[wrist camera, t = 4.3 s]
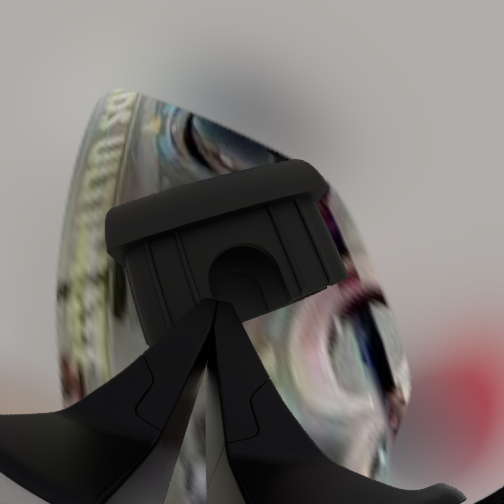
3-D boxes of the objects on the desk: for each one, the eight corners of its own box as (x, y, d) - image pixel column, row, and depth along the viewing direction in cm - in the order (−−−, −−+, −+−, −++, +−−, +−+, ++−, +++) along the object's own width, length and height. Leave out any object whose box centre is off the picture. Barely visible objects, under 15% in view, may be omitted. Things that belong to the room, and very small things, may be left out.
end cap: (274, 198, 19) (302, 134, 13) (315, 294, 18) (369, 267, 11) (132, 239, 17) (95, 186, 11) (162, 348, 15) (131, 352, 9)
